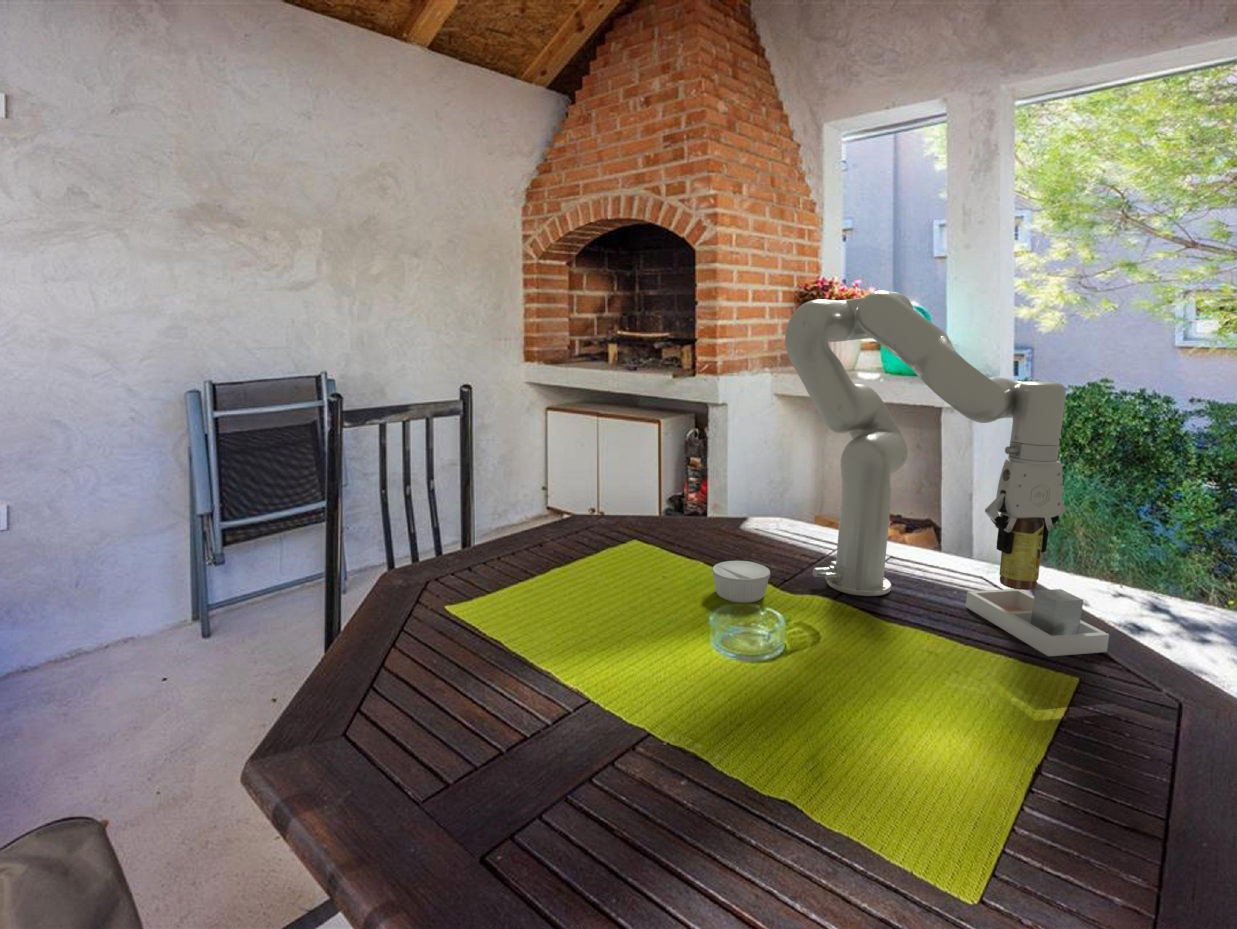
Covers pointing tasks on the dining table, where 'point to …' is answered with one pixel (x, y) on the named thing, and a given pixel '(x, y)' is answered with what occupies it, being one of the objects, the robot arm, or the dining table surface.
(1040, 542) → the sauce bottle
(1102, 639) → the divided bay tray
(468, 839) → the dining table surface
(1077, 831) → the dining table surface
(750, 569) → the ramekin
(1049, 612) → the grey metal block
